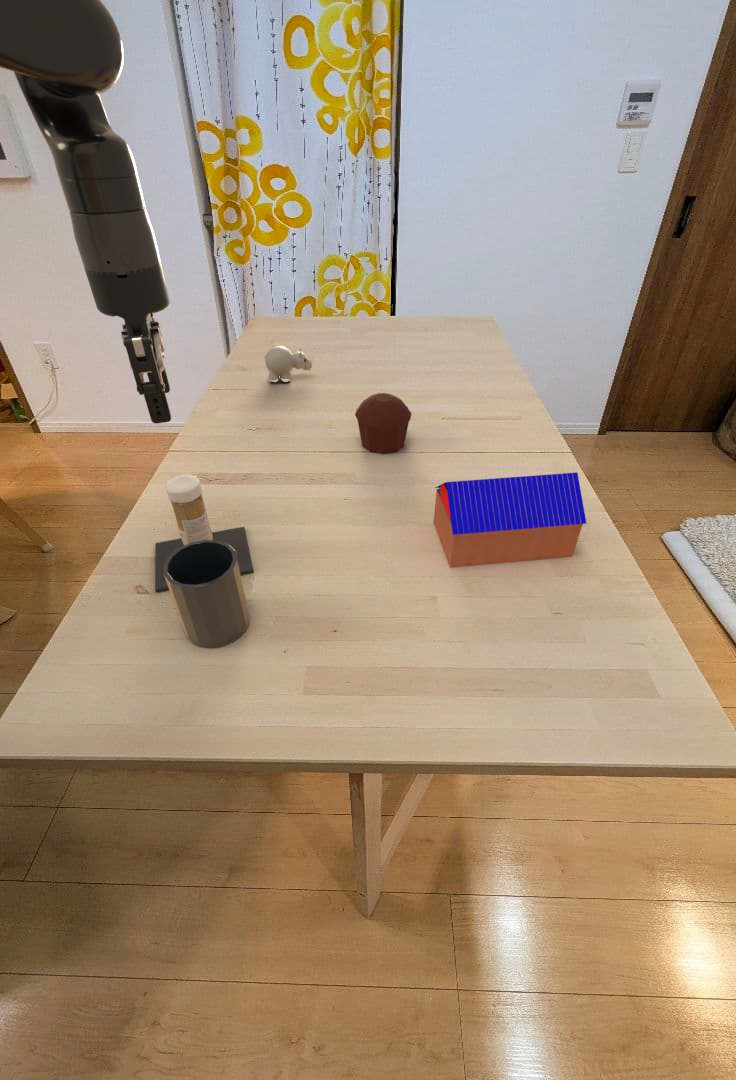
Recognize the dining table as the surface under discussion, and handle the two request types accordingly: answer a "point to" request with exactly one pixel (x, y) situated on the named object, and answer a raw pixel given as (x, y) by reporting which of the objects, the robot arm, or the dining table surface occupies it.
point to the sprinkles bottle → (189, 508)
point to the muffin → (383, 423)
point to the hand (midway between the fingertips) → (162, 406)
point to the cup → (208, 592)
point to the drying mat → (230, 536)
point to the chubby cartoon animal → (285, 362)
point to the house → (509, 518)
